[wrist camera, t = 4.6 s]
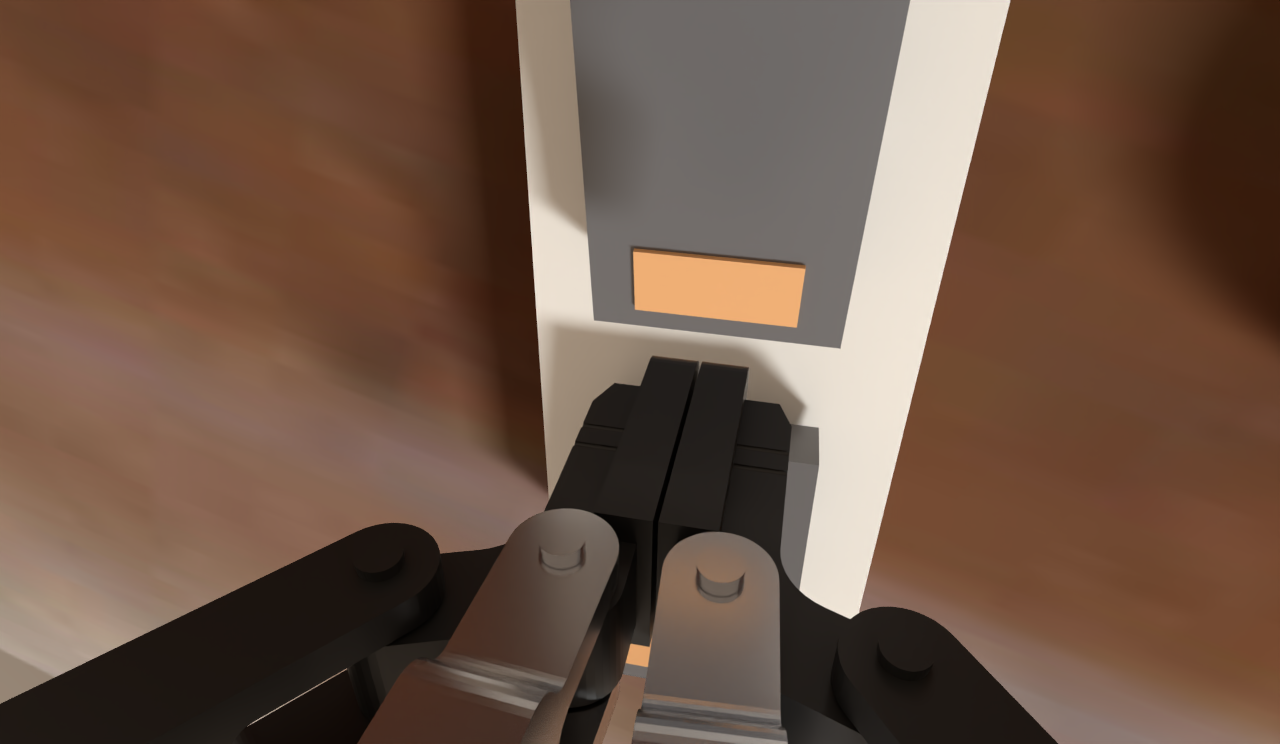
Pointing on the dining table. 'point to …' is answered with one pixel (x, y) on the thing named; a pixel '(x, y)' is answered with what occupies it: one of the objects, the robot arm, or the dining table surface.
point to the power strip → (778, 371)
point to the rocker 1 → (731, 158)
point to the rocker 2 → (794, 522)
